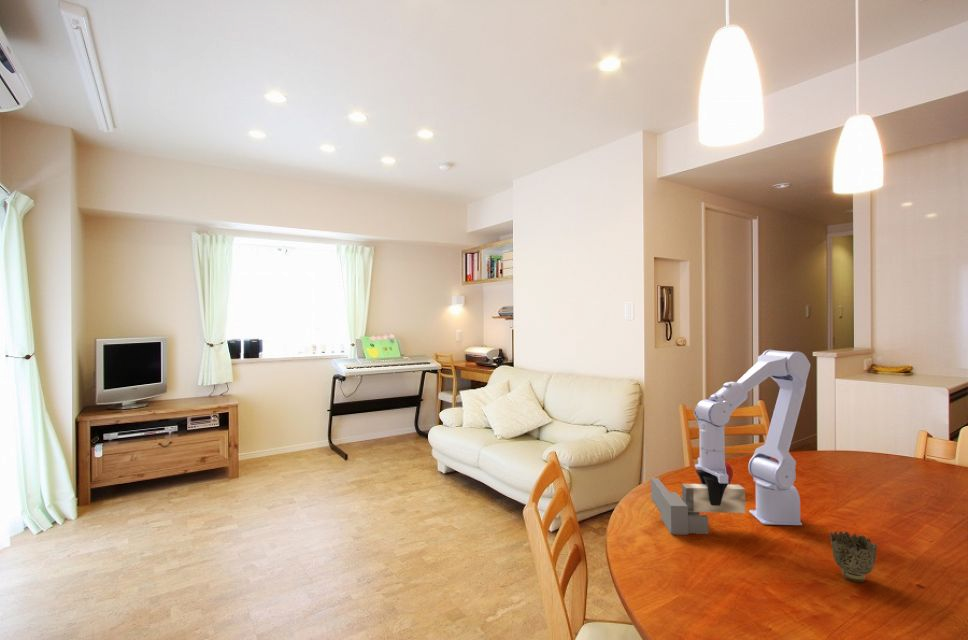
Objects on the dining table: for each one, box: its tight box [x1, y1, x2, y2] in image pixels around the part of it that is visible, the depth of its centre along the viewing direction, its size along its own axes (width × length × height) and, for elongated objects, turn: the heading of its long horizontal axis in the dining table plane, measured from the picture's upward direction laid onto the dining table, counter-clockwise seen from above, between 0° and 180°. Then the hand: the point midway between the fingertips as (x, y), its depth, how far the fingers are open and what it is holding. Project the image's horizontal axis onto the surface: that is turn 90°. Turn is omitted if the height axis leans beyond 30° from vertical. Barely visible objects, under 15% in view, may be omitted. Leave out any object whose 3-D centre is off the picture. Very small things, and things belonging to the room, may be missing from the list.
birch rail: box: [681, 483, 746, 514], centre depth 119 cm, size 14×3×6 cm, turn 85°
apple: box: [725, 460, 734, 485], centre depth 146 cm, size 8×8×10 cm
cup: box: [829, 530, 878, 583], centre depth 95 cm, size 8×7×8 cm
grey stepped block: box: [650, 477, 709, 536], centre depth 126 cm, size 9×23×7 cm, turn 175°
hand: (712, 502), depth 119 cm, fingers closed on birch rail, 3 cm apart
